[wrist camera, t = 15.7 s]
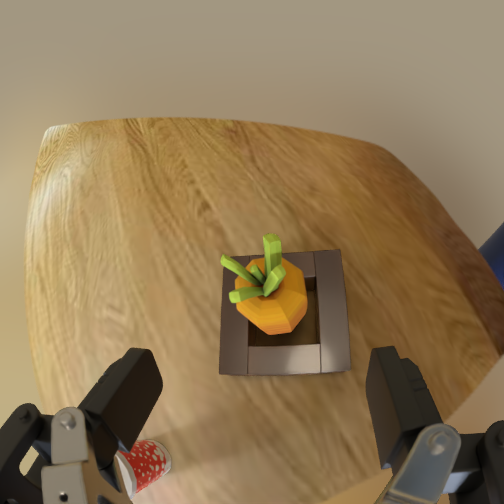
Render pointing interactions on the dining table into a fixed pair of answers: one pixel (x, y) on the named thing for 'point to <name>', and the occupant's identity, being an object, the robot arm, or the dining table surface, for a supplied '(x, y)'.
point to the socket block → (290, 356)
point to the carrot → (269, 289)
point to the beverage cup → (143, 465)
